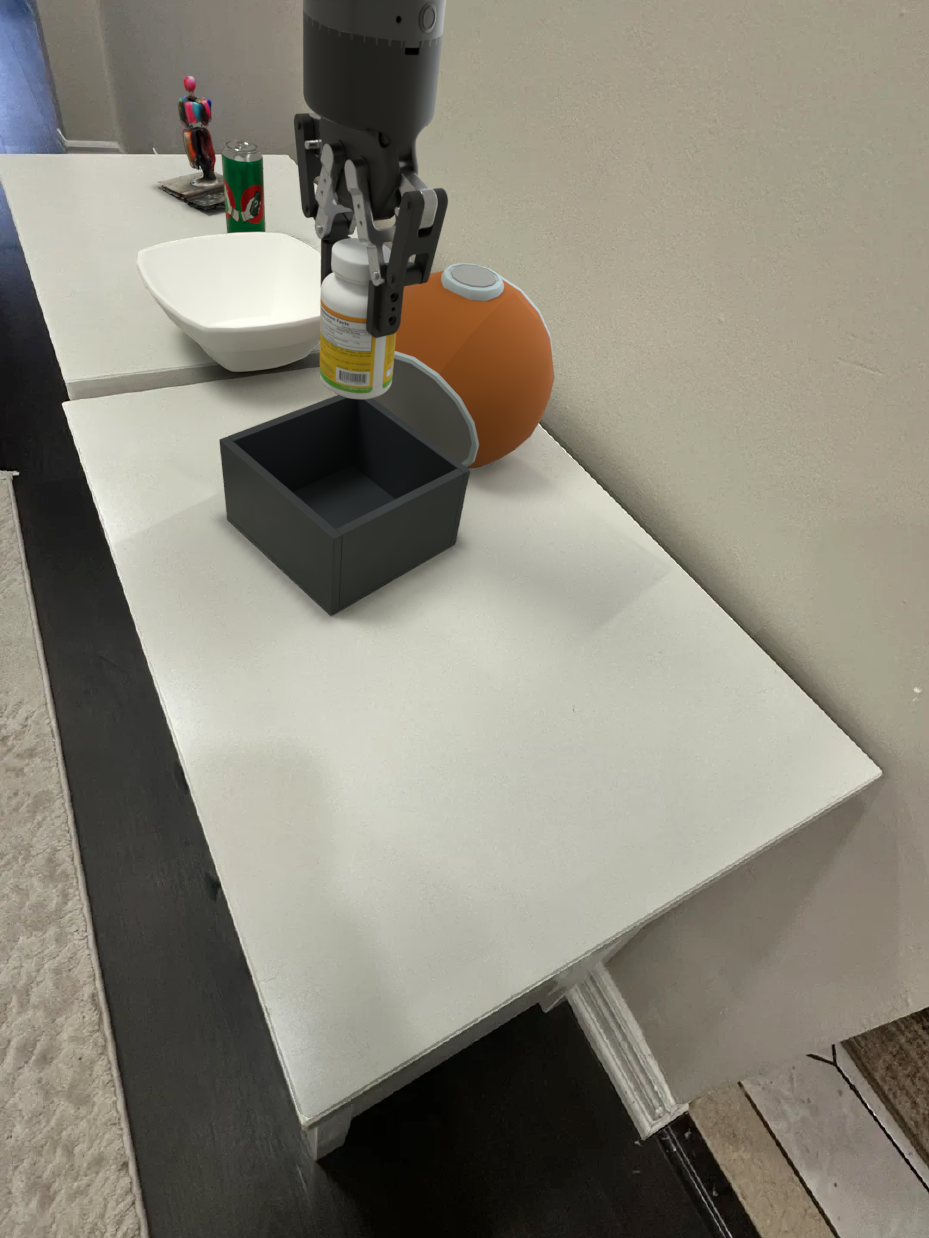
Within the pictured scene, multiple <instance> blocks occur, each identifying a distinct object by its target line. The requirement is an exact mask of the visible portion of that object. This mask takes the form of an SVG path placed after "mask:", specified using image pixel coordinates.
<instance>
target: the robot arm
mask: <svg viewBox="0 0 929 1238" xmlns="http://www.w3.org/2000/svg"><path fill="white" fill-rule="evenodd" d="M446 5H447V0H302V62H303V63H302V89H303V90H302V93H303V99H304V102H305V103H306V105H307V107H308V108H309V109H310V110H311V111H312V112H304V113H303V112H302V113H295V114H294V117H293V129H294V139H295V148H296V149H295V151H296V161H297V172H298V183H299V193H300V194H299V195H300V206H301V212H302V214H303V216H304V217H305V218H306V219H311V218H312V219H313V220H314V231H315V234H316V237H317V238H318V239H319V240H320V253H321V285H322V282H323V281H324V279H325V278H326V277H327V276H328V275H329V274H331V273H333V271H332V266H331V260H332V247H333V245H334V244H335V243H336V242H338V241H340V240H343V239H348V238H352V237H351V236H352V235H354V233H355V231H356V233H357V234H356V235H357V238H358V239H359V241H360V243H361V244H363V245H365V246H366V248H367V255H368V262H369V269H370V276H371V280H369V287H368V304H367V321H366V330H367V332H368V333H369V334H371V335H372V336H373V337H374V338H379V337H383V336H388V335H392V334H395V333H396V332H397V330H398V329H399V326H400V324H401V314H402V310H401V309H402V303H403V292H404V286H409V285H415V284H423V283H427V282H428V280H429V276H430V274H431V272H432V268H433V264H434V260H435V256H436V253H437V248H438V244H439V241H440V237H441V234H442V233H441V232H442V229H443V225H444V222H445V217H446V213H447V210H448V205H449V198H448V194H447V191H446V189H444V188H443V187H436V188H430V187H429V186H428V185H427V183H425V182H424V181H423V180H422V179H421V178H420V177H419V163H418V155H417V139H418V137H419V135H420V134H421V132H422V131H423V130H424V129H425V128H426V127H427V126H429V125H430V123H431V122H432V121H433V119H434V116H435V110H436V101H437V91H438V81H439V72H440V62H441V55H442V42H443V37H444V32H443V31H444V25H445V15H446V7H447V6H446ZM317 177H319V178H318V182H317V186H316V188H315V179H316V178H317ZM315 189H316V190H315ZM393 217H394V219H395V221H394V223H393V225H392V226H389V227H383V228H377V227H376V226H375V224H374V222H378V221H385V220H391V219H392V218H393ZM390 242H391V248H390V250H391V253H390V258H389V262H388V263H385V260H384V252H383V245H385V244H386V243H390ZM412 256H414V261H413V262H412V258H411V257H412Z"/></svg>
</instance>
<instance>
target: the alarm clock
mask: <svg viewBox="0 0 929 1238" xmlns="http://www.w3.org/2000/svg"><path fill="white" fill-rule="evenodd" d="M401 310H402V314H401V324H400V326H399V329H398V330H397V332H396V341H395V352H394V364H393V376H392V383H391V386H390V387H389V389H388V390H387V391H386V392H385V393H383V394H382V395H380V396H377V397H374V398H373V399H374V400H375V401H377V402H378V403H380V404H381V405H382V406H384V407H385V408H386V409H388V410H389V411H390V412H392V413H393V414H395V415H396V416H397V417H399V418H400V419H401V420H403V421H404V422H405V423H407V424H408V425H410V426H411V427H412V428H414V429H415V430H416V431H418V432H419V433H420V434H422V435H423V436H425V437H426V438H427V439H429V440H430V441H431V442H433V443H434V444H435V445H437V446H438V447H440V448H441V449H442V450H444V451H445V452H446V453H448V454H449V455H451V456H452V457H453V458H455V459H456V460H457V461H459V462H460V463H461V464H463V465H464V466H466V467H467V468H468V469H470V471H478V470H480V469H483V468H485V467H487V466H490V465H492V464H495V462H497V461H499V460H501V459H502V458H505V457H506V456H507V455H509V454H510V453H512V452H514V451H515V450H516V449H518V448H519V447H520V446H522V444H524V443H525V442H526V441H528V439H530V437H532V435H533V433H534V431H535V430H536V429H537V427H538V426H539V423H540V422H541V420H542V419H543V416H544V414H545V411H546V408H547V406H548V403H549V400H550V398H551V395H552V390H553V386H554V381H555V370H554V360H553V359H554V355H553V346H552V345H553V344H552V335H551V331H550V330H549V327H548V326H547V323H546V321H545V319H544V316H543V315H542V312H541V310H540V309H539V308H538V307H537V306H536V305H535V303H534V302H533V301H532V300H531V299H530V297H529V296H528V295H527V294H526V293H525V292H524V290H522V289H521V288H520V287H518V286H517V285H515V284H514V283H513V282H511V281H509V280H508V279H507V278H505V277H503V276H502V275H501V274H499V273H498V272H496V271H494V270H493V269H491V268H489V267H486V266H483V265H480V264H476V263H467V262H466V263H465V262H459V263H455V264H454V263H453V264H449V265H448V266H447V267H446V268H445V269H444V270H440V271H436V272H433V273H430V276H429V280H428V282H427V283H423V284H415V285H409V286H404V292H403V303H402V309H401Z"/></svg>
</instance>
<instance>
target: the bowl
mask: <svg viewBox="0 0 929 1238" xmlns="http://www.w3.org/2000/svg"><path fill="white" fill-rule="evenodd" d="M136 270H137V272H138V274H139V276H140V279H141V281H142V283H143V285H144V286H145V288H146V290H147V291H148V292H149V294H150V295H151V297H152V298H153V299H154V300H155V301H156V304H158V305H159V307H160V308H161V310H162V311H163V312H164V313H165V315H166V316H167V317H168V318H169V320H170V322H172V323H173V324H174V325H175V326H176V327H177V328H179V329H180V331H181V332H183V333H184V334H186V336H188V337H189V338H191V340H193V341H194V342H196V343H197V344H198V345H199V346H200V347H201V349H202V350H203V352H204V353H206V354H207V355H208V356H209V358H211V359H212V360H213V361H215V362H216V363H217V364H219V365H220V366H221V367H223V368H224V369H225V370H228V371H230V372H234V373H242V372H253V371H254V372H255V371H263V370H269V369H275V368H279V367H283V366H286V365H289V364H293V363H294V362H298V361H300V360H303V359H305V358H307V357H308V356H309V355H310V354H311V352H312V351H313V350H314V349H315V347H316V346H317V345H318V344H319V343H320V294H321V252H319V251H317V250H316V249H315V248H313V247H311V246H310V245H309V244H307V243H305V242H304V241H303V240H300V239H297V238H295V237H293V236H290V235H289V234H287V233H284V232H269V231H268V232H267V231H266V232H243V233H227V232H226V233H217V234H207V235H199V236H193V237H187V238H180V239H176V240H175V239H174V240H170V241H166V242H161V243H157V244H154V245H152V246H148V247H145V248H142V249H140V250H138V252H137V255H136Z"/></svg>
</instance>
